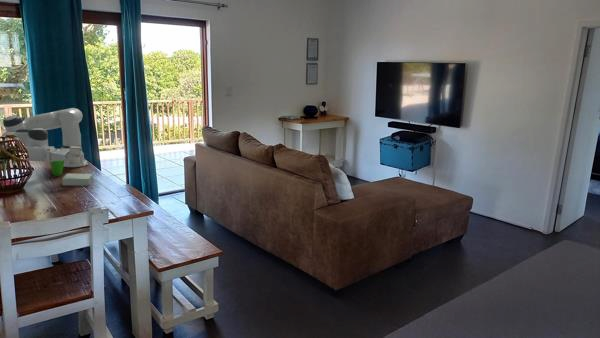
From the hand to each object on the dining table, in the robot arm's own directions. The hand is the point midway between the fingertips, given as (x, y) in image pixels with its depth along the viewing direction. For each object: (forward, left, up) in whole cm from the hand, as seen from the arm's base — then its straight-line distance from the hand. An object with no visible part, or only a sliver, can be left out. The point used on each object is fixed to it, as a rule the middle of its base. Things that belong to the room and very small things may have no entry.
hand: (76, 154), depth 255 cm
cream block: (0, -1, -6) cm, 6 cm away
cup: (-20, -15, -17) cm, 30 cm away
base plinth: (0, 0, -17) cm, 17 cm away
